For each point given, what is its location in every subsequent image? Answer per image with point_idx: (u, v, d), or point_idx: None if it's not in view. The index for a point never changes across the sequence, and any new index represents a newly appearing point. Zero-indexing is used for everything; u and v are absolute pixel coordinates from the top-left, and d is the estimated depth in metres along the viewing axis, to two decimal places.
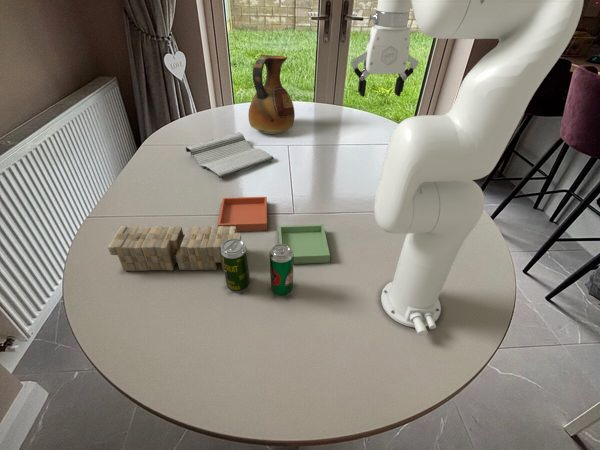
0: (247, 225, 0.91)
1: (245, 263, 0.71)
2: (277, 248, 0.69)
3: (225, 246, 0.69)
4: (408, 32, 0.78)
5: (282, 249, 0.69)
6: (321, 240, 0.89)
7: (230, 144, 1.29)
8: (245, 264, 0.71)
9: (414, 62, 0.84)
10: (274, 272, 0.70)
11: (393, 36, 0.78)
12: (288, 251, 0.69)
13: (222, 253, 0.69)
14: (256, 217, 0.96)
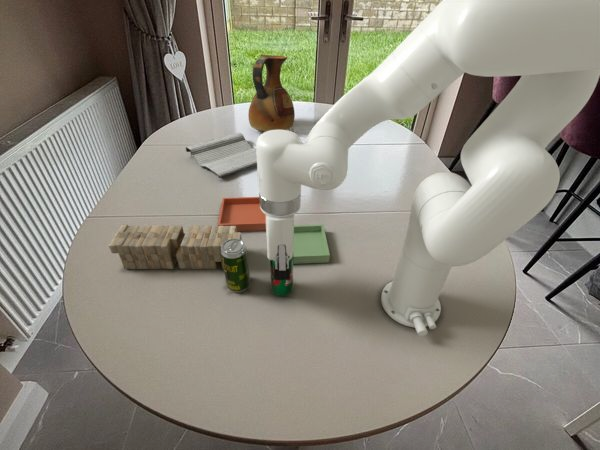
0: (247, 225, 0.91)
1: (245, 263, 0.71)
2: None
3: (225, 246, 0.69)
4: (267, 221, 0.59)
5: None
6: (321, 240, 0.89)
7: (230, 144, 1.29)
8: (245, 264, 0.71)
9: (279, 264, 0.62)
10: None
11: None
12: None
13: (222, 253, 0.69)
14: (256, 217, 0.96)
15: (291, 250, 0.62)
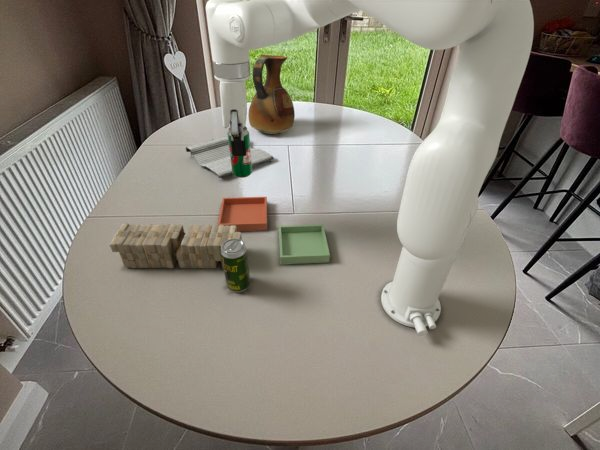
0: (247, 225, 0.91)
1: (245, 263, 0.71)
2: None
3: (225, 246, 0.69)
4: (220, 85, 0.68)
5: None
6: (321, 240, 0.89)
7: None
8: (245, 264, 0.71)
9: (232, 129, 0.71)
10: None
11: None
12: (244, 129, 0.78)
13: (222, 253, 0.69)
14: (256, 217, 0.96)
15: (243, 117, 0.71)
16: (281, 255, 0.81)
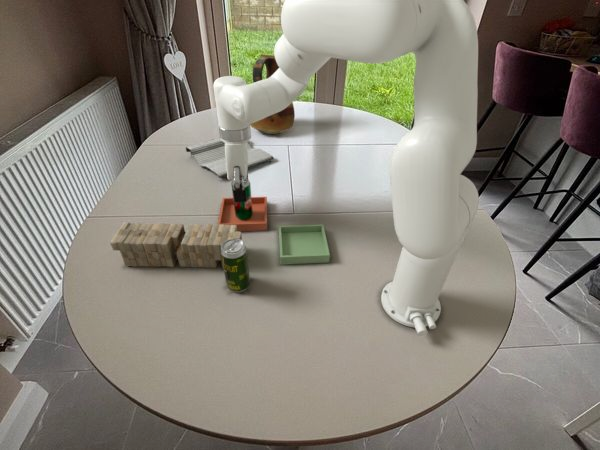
0: (247, 225, 0.91)
1: (245, 263, 0.71)
2: None
3: (225, 246, 0.69)
4: (225, 146, 0.79)
5: None
6: (321, 240, 0.89)
7: None
8: (245, 264, 0.71)
9: None
10: None
11: None
12: (246, 180, 0.89)
13: (222, 253, 0.69)
14: (256, 217, 0.96)
15: (245, 172, 0.83)
16: (281, 255, 0.81)
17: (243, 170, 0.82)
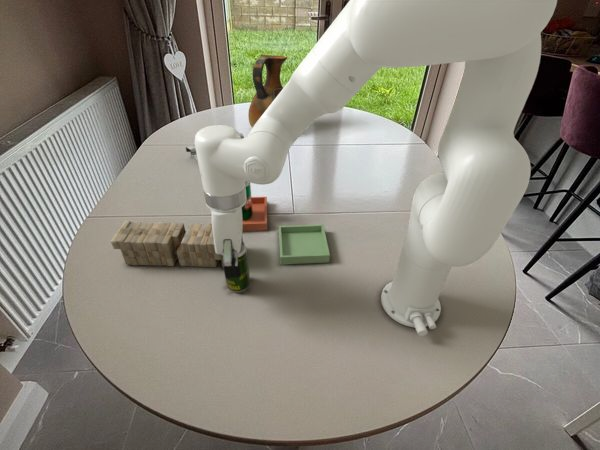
0: (247, 225, 0.91)
1: (245, 263, 0.71)
2: None
3: None
4: (211, 216, 0.60)
5: None
6: (321, 240, 0.89)
7: None
8: (245, 264, 0.71)
9: None
10: None
11: None
12: None
13: (222, 253, 0.69)
14: (256, 217, 0.96)
15: (238, 245, 0.63)
16: (281, 255, 0.81)
17: (236, 245, 0.63)
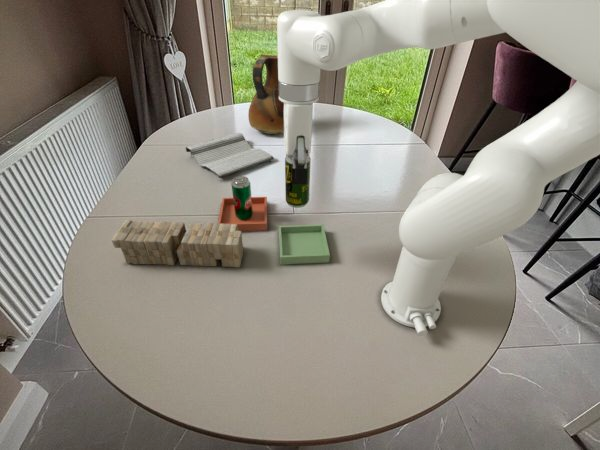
0: (247, 225, 0.91)
1: (309, 173, 0.71)
2: (237, 178, 0.90)
3: None
4: (287, 109, 0.59)
5: (241, 179, 0.90)
6: (321, 240, 0.89)
7: (230, 144, 1.29)
8: (308, 174, 0.71)
9: None
10: (235, 197, 0.90)
11: (284, 107, 0.62)
12: (246, 180, 0.89)
13: (287, 160, 0.68)
14: (256, 217, 0.96)
15: (310, 144, 0.63)
16: (281, 255, 0.81)
17: (308, 147, 0.63)
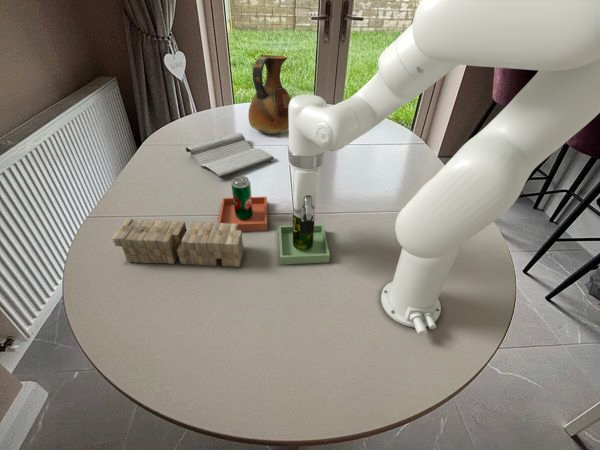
0: (247, 225, 0.91)
1: None
2: (237, 178, 0.90)
3: None
4: (296, 174, 0.69)
5: (241, 179, 0.90)
6: (321, 240, 0.89)
7: (230, 144, 1.29)
8: None
9: (306, 211, 0.71)
10: (235, 197, 0.90)
11: (293, 170, 0.73)
12: (246, 180, 0.89)
13: (295, 214, 0.79)
14: (256, 217, 0.96)
15: (316, 201, 0.73)
16: (281, 255, 0.81)
17: (314, 200, 0.72)
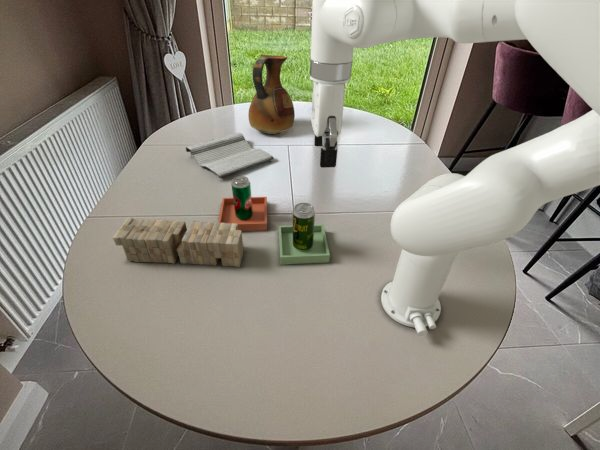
0: (247, 225, 0.91)
1: (313, 224, 0.81)
2: (237, 178, 0.90)
3: (297, 208, 0.80)
4: (319, 88, 0.59)
5: (241, 179, 0.90)
6: (321, 240, 0.89)
7: (230, 144, 1.29)
8: (313, 225, 0.81)
9: (329, 134, 0.60)
10: (235, 197, 0.90)
11: (314, 87, 0.62)
12: (246, 180, 0.89)
13: (295, 214, 0.79)
14: (256, 217, 0.96)
15: (340, 125, 0.62)
16: (281, 255, 0.81)
17: (339, 122, 0.62)
